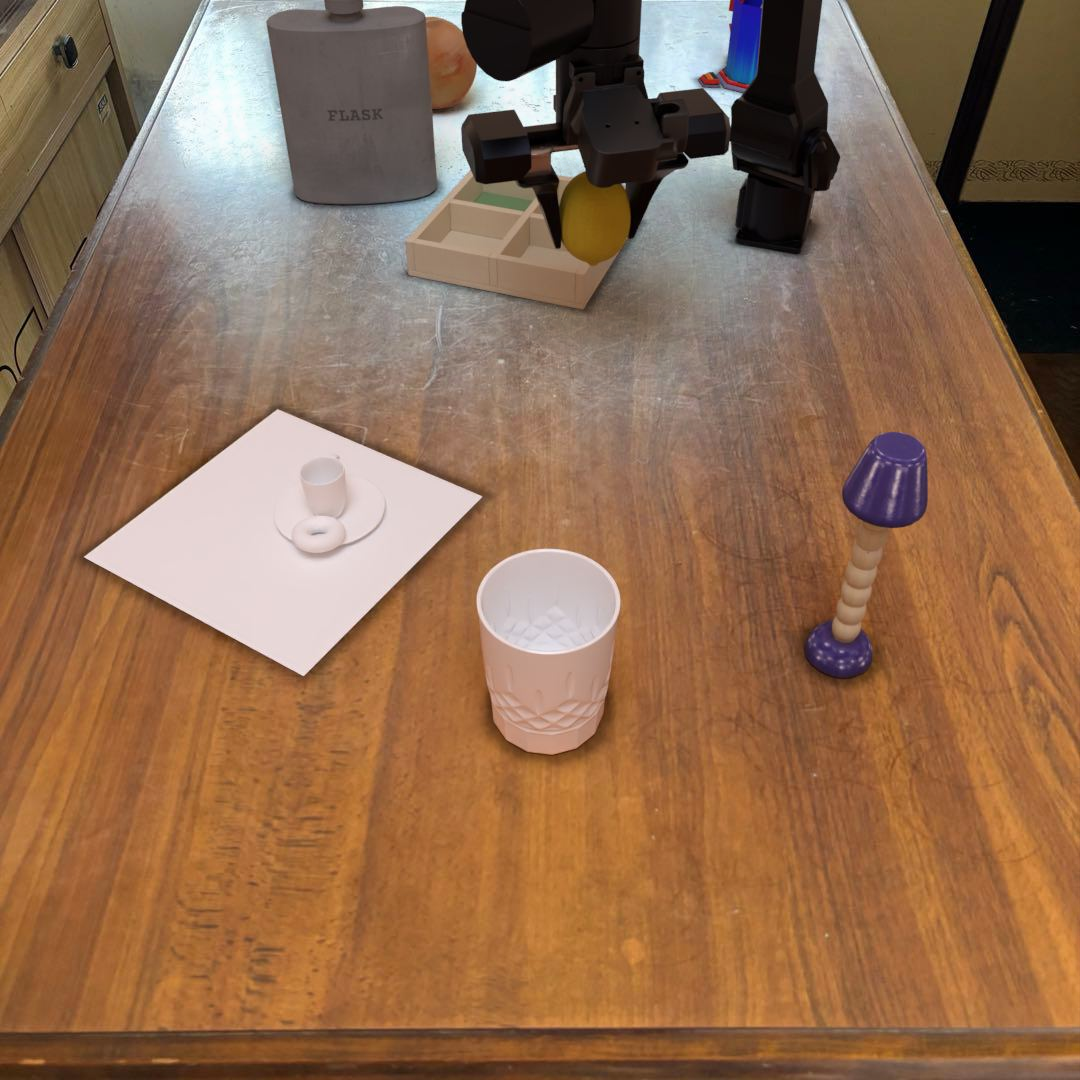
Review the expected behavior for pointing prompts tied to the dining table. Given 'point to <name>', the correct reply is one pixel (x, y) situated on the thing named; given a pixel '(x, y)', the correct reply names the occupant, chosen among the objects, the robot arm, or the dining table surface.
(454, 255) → the tray
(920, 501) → the toy lamp
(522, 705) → the white cup
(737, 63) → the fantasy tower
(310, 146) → the flask
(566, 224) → the lemon
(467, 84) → the onion
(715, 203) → the dining table surface
